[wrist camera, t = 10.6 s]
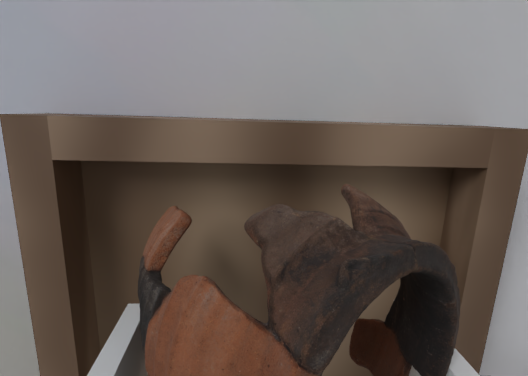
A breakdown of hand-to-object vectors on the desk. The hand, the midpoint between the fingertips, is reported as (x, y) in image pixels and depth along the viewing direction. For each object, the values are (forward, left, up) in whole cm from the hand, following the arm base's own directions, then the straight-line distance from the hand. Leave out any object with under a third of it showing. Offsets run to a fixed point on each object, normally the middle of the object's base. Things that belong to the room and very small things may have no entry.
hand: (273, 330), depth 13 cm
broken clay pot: (-1, +1, -1) cm, 2 cm away
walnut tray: (0, 0, -3) cm, 3 cm away
